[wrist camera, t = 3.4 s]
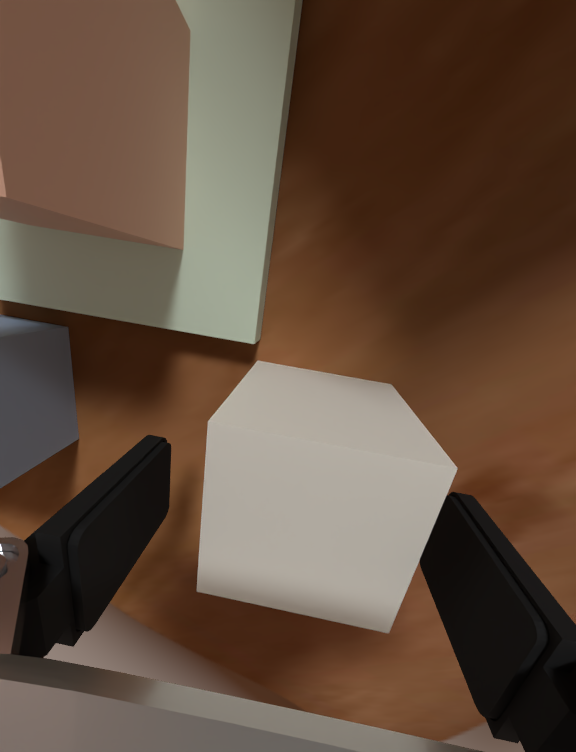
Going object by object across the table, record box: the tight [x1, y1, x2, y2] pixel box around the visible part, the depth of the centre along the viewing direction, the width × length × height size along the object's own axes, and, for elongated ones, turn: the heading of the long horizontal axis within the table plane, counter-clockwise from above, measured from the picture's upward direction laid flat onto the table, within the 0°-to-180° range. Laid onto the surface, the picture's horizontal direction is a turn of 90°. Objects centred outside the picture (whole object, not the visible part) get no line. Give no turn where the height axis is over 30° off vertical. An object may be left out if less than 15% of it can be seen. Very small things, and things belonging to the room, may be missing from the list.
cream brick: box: [196, 361, 458, 633], centre depth 10 cm, size 6×6×6 cm
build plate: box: [0, 0, 303, 344], centre depth 10 cm, size 12×12×1 cm
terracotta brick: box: [0, 0, 191, 250], centre depth 6 cm, size 6×6×6 cm
